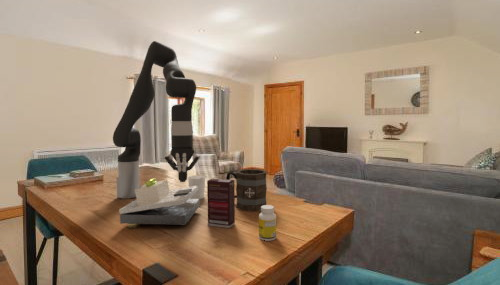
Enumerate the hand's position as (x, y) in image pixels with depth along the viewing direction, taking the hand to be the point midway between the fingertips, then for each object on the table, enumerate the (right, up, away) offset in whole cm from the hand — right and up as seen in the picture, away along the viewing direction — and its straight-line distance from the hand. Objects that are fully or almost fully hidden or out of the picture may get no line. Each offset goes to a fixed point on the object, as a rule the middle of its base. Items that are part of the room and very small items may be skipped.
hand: (183, 181), depth 99 cm
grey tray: (-7, -14, +1) cm, 16 cm away
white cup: (-1, -12, +31) cm, 33 cm away
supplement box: (+14, -15, -4) cm, 21 cm away
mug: (+22, -13, +19) cm, 32 cm away
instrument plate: (-8, -7, +1) cm, 10 cm away
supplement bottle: (+30, -16, -15) cm, 37 cm away
